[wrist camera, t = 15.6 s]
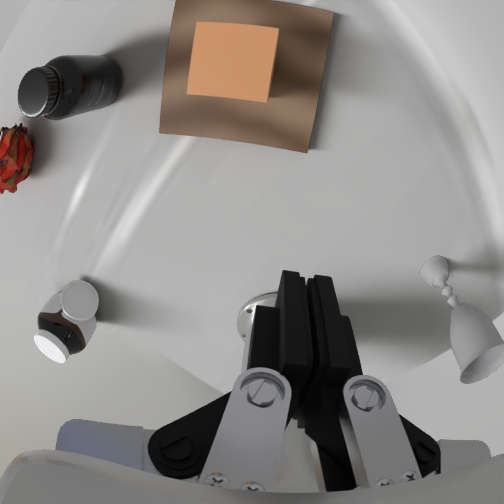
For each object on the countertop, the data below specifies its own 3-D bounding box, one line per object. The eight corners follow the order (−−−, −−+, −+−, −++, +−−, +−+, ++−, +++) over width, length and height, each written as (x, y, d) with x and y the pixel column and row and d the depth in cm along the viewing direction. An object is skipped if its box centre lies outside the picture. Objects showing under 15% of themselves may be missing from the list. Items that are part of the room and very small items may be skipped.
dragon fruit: (16, 177, 35) (47, 117, 32) (22, 212, 33) (54, 148, 30) (-24, 169, 28) (3, 103, 24) (-24, 207, 25) (2, 134, 22)
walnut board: (305, 150, 30) (307, 153, 29) (163, 131, 30) (159, 133, 29) (331, 15, 22) (333, 12, 20) (180, 0, 21) (176, -3, 20)
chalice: (408, 289, 39) (450, 388, 24) (419, 250, 36) (477, 349, 20) (446, 287, 38) (493, 376, 23) (459, 250, 35) (520, 339, 20)
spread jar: (64, 312, 49) (36, 354, 39) (49, 267, 43) (13, 309, 33) (113, 327, 49) (88, 375, 39) (102, 281, 43) (68, 331, 33)
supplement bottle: (107, 45, 24) (40, 41, 14) (134, 84, 27) (71, 92, 17) (71, 81, 26) (3, 94, 16) (95, 119, 29) (30, 143, 19)
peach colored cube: (268, 99, 26) (266, 102, 20) (206, 92, 26) (186, 94, 20) (278, 42, 22) (279, 28, 17) (214, 35, 22) (196, 21, 16)
